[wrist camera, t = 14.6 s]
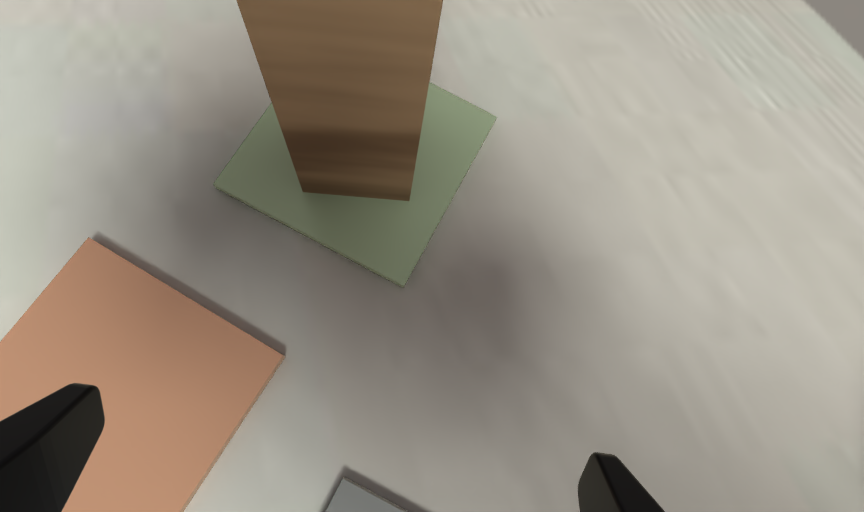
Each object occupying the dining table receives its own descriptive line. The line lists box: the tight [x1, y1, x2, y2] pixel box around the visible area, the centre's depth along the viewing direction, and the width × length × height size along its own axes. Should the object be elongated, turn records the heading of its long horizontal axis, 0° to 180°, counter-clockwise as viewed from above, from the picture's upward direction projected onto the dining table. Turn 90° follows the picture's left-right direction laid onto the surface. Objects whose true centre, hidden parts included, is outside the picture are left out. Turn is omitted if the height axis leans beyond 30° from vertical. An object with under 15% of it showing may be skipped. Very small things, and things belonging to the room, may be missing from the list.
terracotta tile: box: [0, 237, 285, 512], centre depth 22 cm, size 10×10×1 cm
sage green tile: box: [213, 82, 497, 288], centre depth 26 cm, size 10×10×1 cm
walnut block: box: [237, 0, 443, 201], centre depth 19 cm, size 5×5×13 cm
